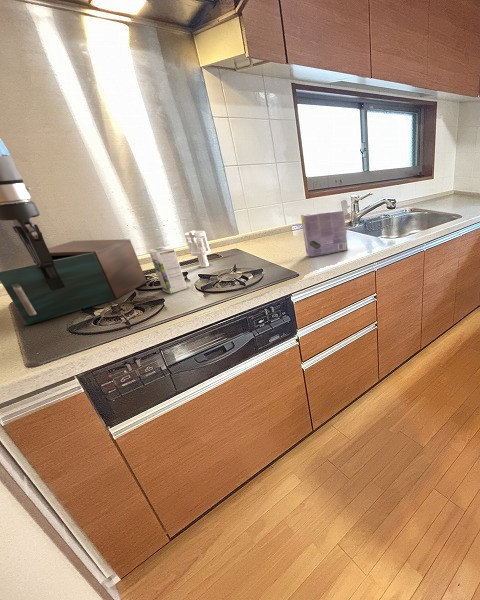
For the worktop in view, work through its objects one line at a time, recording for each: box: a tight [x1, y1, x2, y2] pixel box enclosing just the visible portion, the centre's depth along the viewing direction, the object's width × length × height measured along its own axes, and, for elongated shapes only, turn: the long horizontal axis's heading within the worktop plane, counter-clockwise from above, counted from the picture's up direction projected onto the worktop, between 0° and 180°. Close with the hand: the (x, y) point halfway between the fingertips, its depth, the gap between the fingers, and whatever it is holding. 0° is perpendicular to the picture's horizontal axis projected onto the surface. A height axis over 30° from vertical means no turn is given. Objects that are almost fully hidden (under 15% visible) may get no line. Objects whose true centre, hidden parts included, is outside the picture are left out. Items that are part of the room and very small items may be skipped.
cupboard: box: [47, 238, 148, 299], centre depth 109 cm, size 14×20×16 cm
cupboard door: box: [0, 252, 116, 326], centre depth 93 cm, size 6×20×16 cm, turn 143°
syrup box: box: [148, 245, 188, 295], centre depth 108 cm, size 6×6×14 cm
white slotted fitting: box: [183, 230, 211, 268], centre depth 129 cm, size 7×7×15 cm
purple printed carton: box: [300, 210, 349, 258], centre depth 141 cm, size 19×5×18 cm, turn 123°
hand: (58, 288), depth 91 cm, fingers closed
